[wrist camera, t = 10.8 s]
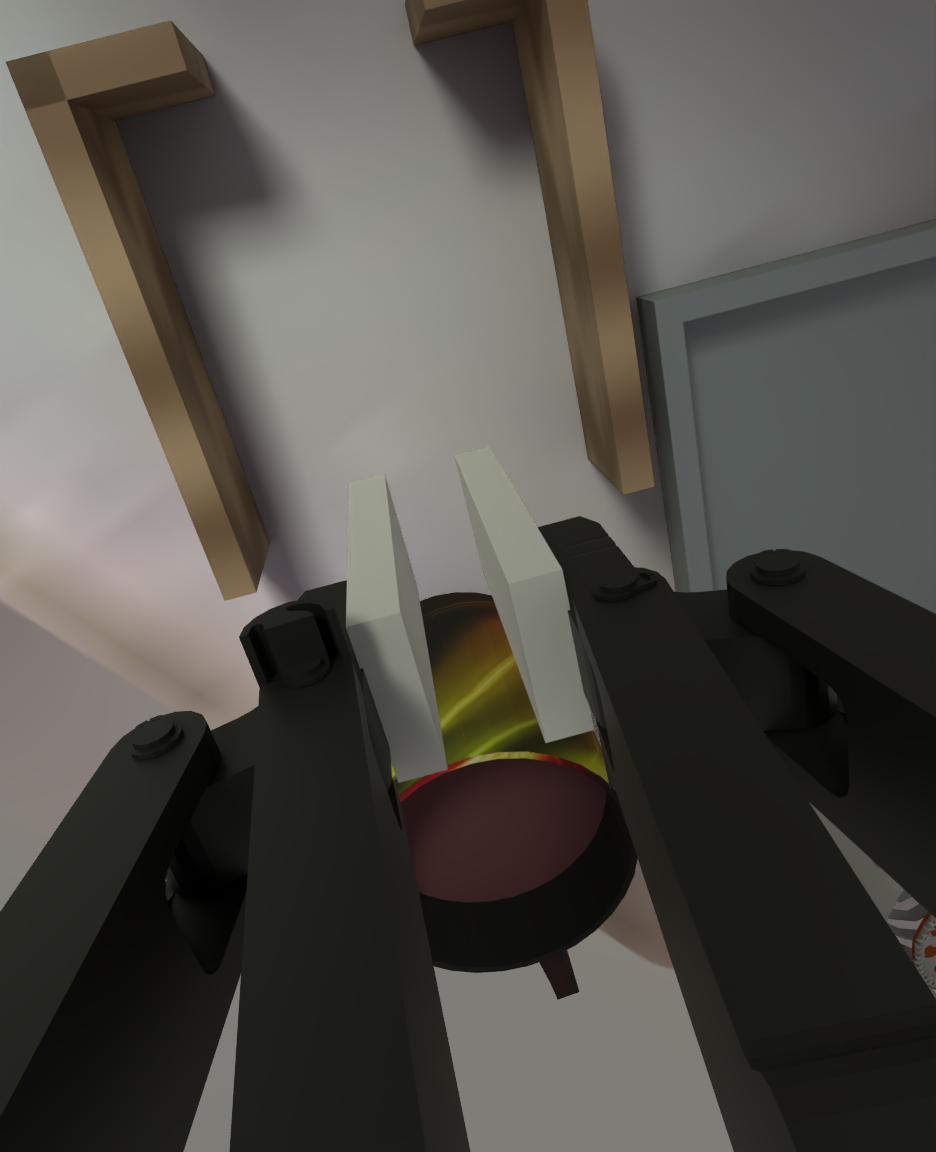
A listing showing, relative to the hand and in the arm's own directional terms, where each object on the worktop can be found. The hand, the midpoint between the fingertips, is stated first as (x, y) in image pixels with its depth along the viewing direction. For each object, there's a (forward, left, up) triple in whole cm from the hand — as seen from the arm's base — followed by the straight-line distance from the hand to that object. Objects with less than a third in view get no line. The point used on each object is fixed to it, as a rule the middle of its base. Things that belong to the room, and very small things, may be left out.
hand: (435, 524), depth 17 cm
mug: (+16, 0, -17) cm, 23 cm away
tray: (+9, +18, -16) cm, 26 cm away
